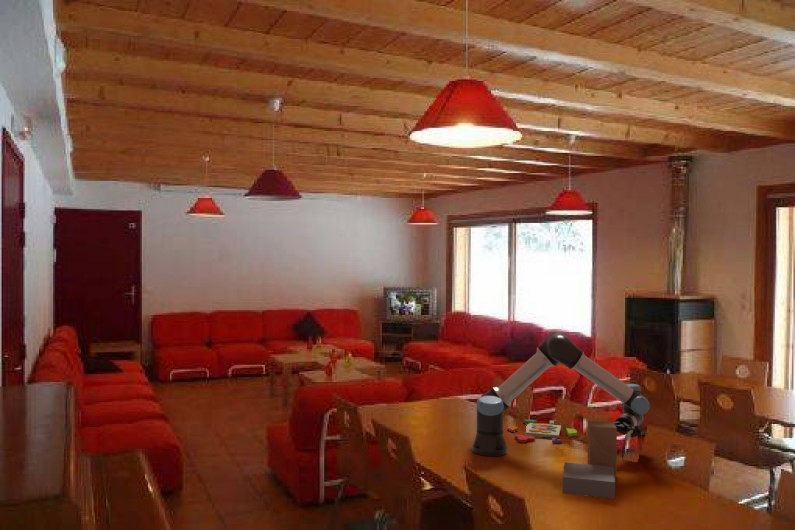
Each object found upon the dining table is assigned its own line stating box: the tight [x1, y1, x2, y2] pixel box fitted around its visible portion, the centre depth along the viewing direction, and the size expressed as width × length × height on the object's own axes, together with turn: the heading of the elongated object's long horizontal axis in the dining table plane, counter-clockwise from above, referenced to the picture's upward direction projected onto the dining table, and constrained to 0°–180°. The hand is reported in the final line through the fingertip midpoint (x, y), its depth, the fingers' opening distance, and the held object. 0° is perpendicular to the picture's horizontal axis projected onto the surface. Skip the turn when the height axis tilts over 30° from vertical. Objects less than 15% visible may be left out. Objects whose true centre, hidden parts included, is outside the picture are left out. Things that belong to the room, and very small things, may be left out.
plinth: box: [562, 461, 616, 499], centre depth 240 cm, size 18×18×6 cm
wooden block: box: [587, 420, 618, 480], centre depth 255 cm, size 10×10×20 cm
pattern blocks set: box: [506, 419, 578, 444], centre depth 317 cm, size 38×34×3 cm
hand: (610, 434), depth 263 cm, fingers open, 13 cm apart
